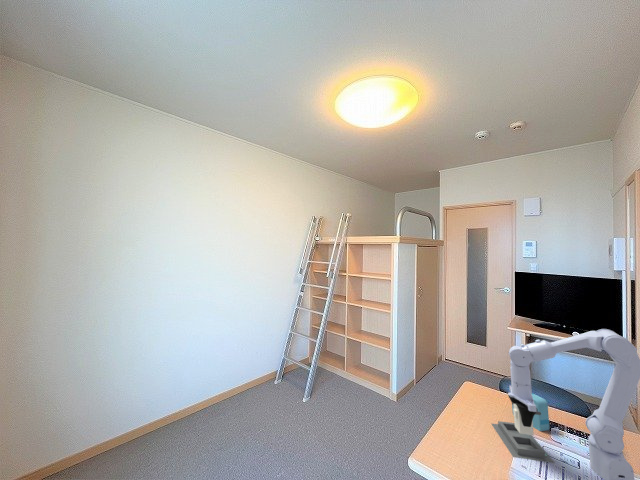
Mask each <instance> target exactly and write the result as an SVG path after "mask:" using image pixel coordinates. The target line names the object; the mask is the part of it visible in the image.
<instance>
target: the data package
mask: <svg viewBox="0 0 640 480" xmlns="http://www.w3.org/2000/svg"><path fill="white" fill-rule="evenodd" d="M532 397H533V400H534V404H535V405H536V408H537V409H538V412H540V413H541V415H534V417H533V429H536V430H537V431H539V432H546V431H550V419H549V418H550V416H549V415H550V414H549V405H548V402H547V400H546V399H545V398H543V397H541V396H539V395H537V394H535V393H533V392H532ZM511 406H512V407H511V408H512V412H513V409H514V407H513V404H512V403H511ZM512 415H513V416H514V414H513V413H512Z"/></svg>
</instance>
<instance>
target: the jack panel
mask: <svg viewBox="0 0 640 480" xmlns="http://www.w3.org/2000/svg"><path fill="white" fill-rule="evenodd" d="M491 426H492V427H493V429H494V430H495V432H496V434H497V435H498V437H499V438H500V439H501V441H502V442H503V444H504V445H505V447H506V448H507V450H508V452H509V453H510V455H511V456H512V458H516V459H524V460H531V461H535V462H536V461H538V462H543V463H552V464H556V462H555V461H554V460H553V458H552V457H551V456H550V455H549V453H547V452H546V450H545V449H544V448H543V447H542V446H541V444H540V443H539V442H538V441H537V440H536V438H535V437H534V435H527V434H520V433H519V431H518V430H517V429H516V428H515V423H514V422H509V421H497V423H492V422H491Z"/></svg>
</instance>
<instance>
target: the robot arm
mask: <svg viewBox="0 0 640 480" xmlns="http://www.w3.org/2000/svg"><path fill="white" fill-rule="evenodd" d="M585 348H587V349H590V350H594V351H597V352H602V350H603V351H605V352H606V353H607V354H608V355H609V357H610V358H611V360H612V361H613V362H614V363H615V366H614V369H613V371H612V374H611V376H610V378H609V381H608V385H607V386H606V389H605V391H604V393H603V394H604V395H603V397H602V400H601V402H600V405H599V407H598V408H597V409H595V410H593V413H592V414H591V415H589V416H588V417H587V418H586V419H585V426H586V428H587V429H588V431H589V432H590V434H589V436H588V437H587V439H588V440H587V441H588V452H589V463H590V465H589V466H590V469H591V470H592V472H593V473H594V474H596V475H597V476H599V477H600V478H601V479H602V480H635V474H634V469H633V467H632V465H631V464H630V462H628V461H627V459H626V458H625V455H624V453H623V451H624V448H625V443H624V440H623V438H624V434H625V431H624V425H623V422H624V419H625V417H626V415H627V412H628V410H629V407H630V404H631V403H632V399H633V397H634V394H635V392H636V389H637V386H638V384H639V382H640V357H639V354H638V349H637V347H636V346H634V345H633V343H632V342H631V341H629V339H627V338H626V337H624V336H621V335H619V334H618V333H616V332H615V331H614V330H611V329H607V328H601V329H598V330H590V331H586V332H584V333H579V334H576V335H573V336H569V337H566V338H562V339H558V340H556V341H551V342H550V341H548V340H545V339H543V340H540V339H536V340H535V342H531V343H526V344H524V343H521V344H520V345H513V346H511V347H510V348H509V351H508V355H509V359H510V363H509V365H510V367H509V369H510V383H511V385H510V384H509V392H508V393H507V394H508V398H509V401H510V402H511V405H512V404H513V403H514V404H516V405H517V407H518V409H519V411H520V415H521V420H522V423H523V426H526V427H531V424H532V420H533V417H534V415H535V413H536V412H537V411H538V409H537V408H536V405H535V404H534V400H533V397H532V393H533V392H532V381H531V380H532V379H531V370H530V365H531V363H535V362H541V361H545V360H549V359H553V358H554V359H555V357H556V355H557V353H562V352H568V351H574V350H579V349H585Z"/></svg>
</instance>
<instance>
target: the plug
mask: <svg viewBox="0 0 640 480" xmlns="http://www.w3.org/2000/svg"><path fill="white" fill-rule="evenodd" d="M513 407H514V409H513V411H512V415H513V414H514V415H513V419H514V420H513V421H514V422H513V423H515V428H516V429H517V430H518V431H519V433H520V434H527V435H532V436H534V427H533V420H532V424H531V427H526V426H523V423H522V420H521V415H520V411H519V409H518V407H517V405H516V404H514V403H513ZM535 415H541V413H540V412H538V411H537V412H536V413H535Z"/></svg>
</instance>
